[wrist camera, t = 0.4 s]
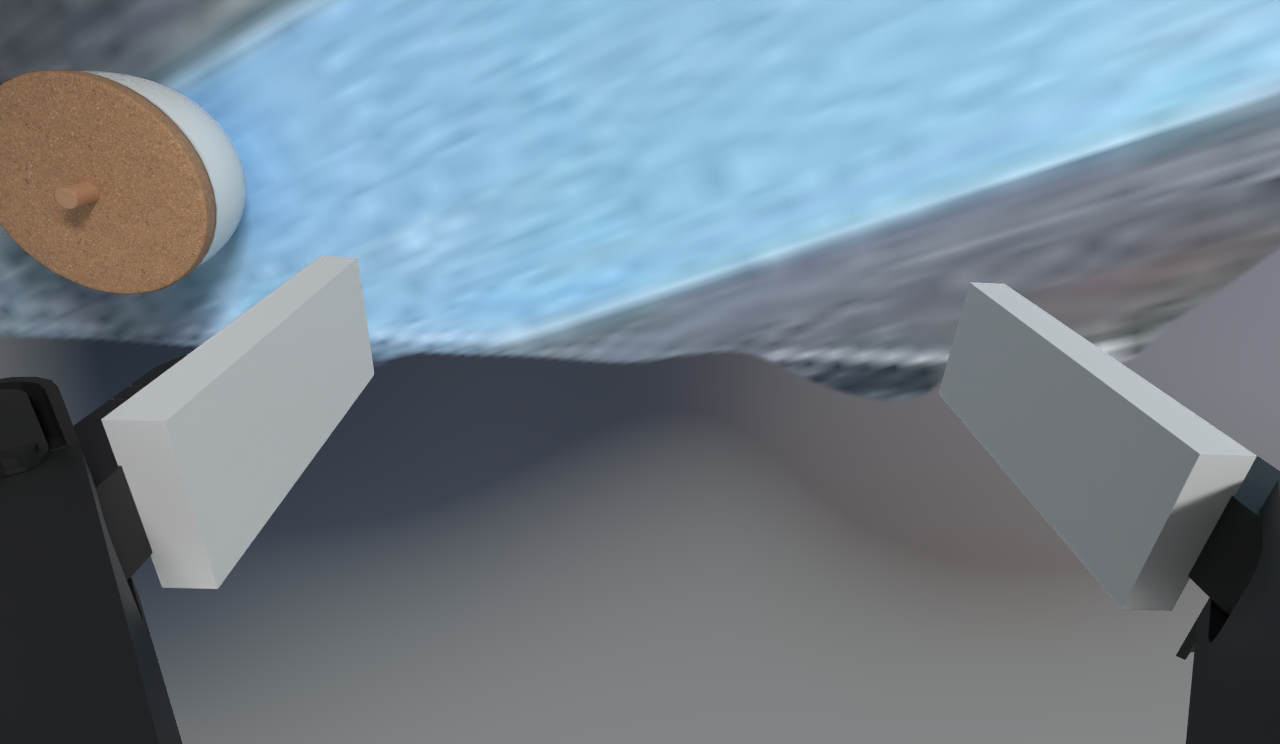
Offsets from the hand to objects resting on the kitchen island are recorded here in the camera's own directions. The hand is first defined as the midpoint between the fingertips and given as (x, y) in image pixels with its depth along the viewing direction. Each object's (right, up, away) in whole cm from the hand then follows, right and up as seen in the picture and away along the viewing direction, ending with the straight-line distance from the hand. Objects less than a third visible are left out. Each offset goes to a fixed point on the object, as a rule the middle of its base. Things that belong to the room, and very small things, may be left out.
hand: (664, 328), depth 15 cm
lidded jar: (-27, +11, +25) cm, 39 cm away
